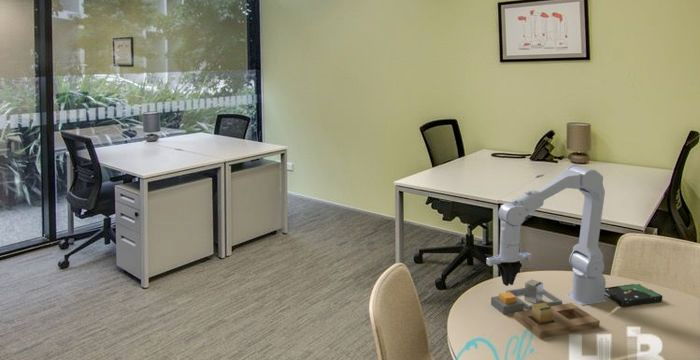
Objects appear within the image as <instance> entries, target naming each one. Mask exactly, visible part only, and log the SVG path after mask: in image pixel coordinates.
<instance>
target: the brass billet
mask: <svg viewBox="0 0 700 360" xmlns="http://www.w3.org/2000/svg"><path fill="white" fill-rule="evenodd" d="M545 303H546V302H538V303H537V304H534V303H532V304H531V305H532V316H531V319H532V320H533V321H534V322H536V323H537V324H538V325H544V324H549V323H552V314H553V308H551V307H550V306H548V305H547V304H545Z"/></svg>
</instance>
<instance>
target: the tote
mask: <svg viewBox="0 0 700 360" xmlns="http://www.w3.org/2000/svg"><path fill="white" fill-rule="evenodd" d="M507 292H510V293H511V294H513V295H514V296H515V297H516V298H517V299H518V300H520V301H521V302H522V303H524V306H523V309H525V311H527V310H532V305H533V304H530V305H529V304H528V303H526V302H525V301H523V300H522V299H520V298H519V297H518V295H525V287H520V288H515V289H508V290H505V293H507ZM543 296H544V297H546V298H547V299H549V300H550V301H548V302H544V303H545V304H547V305H548V306H556V305H562V304H563V300H561V299H560V298H558V297H557V296H556V295H553V294H552V293H551V292H549V291H547V290H546V289H544V288H543Z"/></svg>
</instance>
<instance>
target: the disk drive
mask: <svg viewBox="0 0 700 360" xmlns="http://www.w3.org/2000/svg"><path fill="white" fill-rule="evenodd" d="M605 297H607V299H610V300H611V301H612V302H615V303H616V304H618V306H619V307H621V308H624V309H625V308H631V307H638V306H644V305H651V304H657V303H658V304H659V303H662V302H663V295H662V294H660V293H658V292H656V291H654V290H652V289H649V288H647V287H646V286H643V285H642V284H640V283H638V284H637V283H635V284H634V283H632V284H631V283H630V284H624V285H617V286H616V285H615V286H609V287H605Z"/></svg>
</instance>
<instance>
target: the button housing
mask: <svg viewBox="0 0 700 360" xmlns="http://www.w3.org/2000/svg"><path fill="white" fill-rule="evenodd" d="M490 306H492V307H493V308H494V309H496V310H497V311H499V312H500V313H501V314H502V315H509V314H513V313H514V314H515V312H521V311H524V308H523V306H524V303H522V302H521V301H520V300H518V299H517V298H516V302H515V303H509V304H504V303H503V302H502V301H500V300H499V295H497V296H496V295H495V296H491V297H490Z"/></svg>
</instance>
